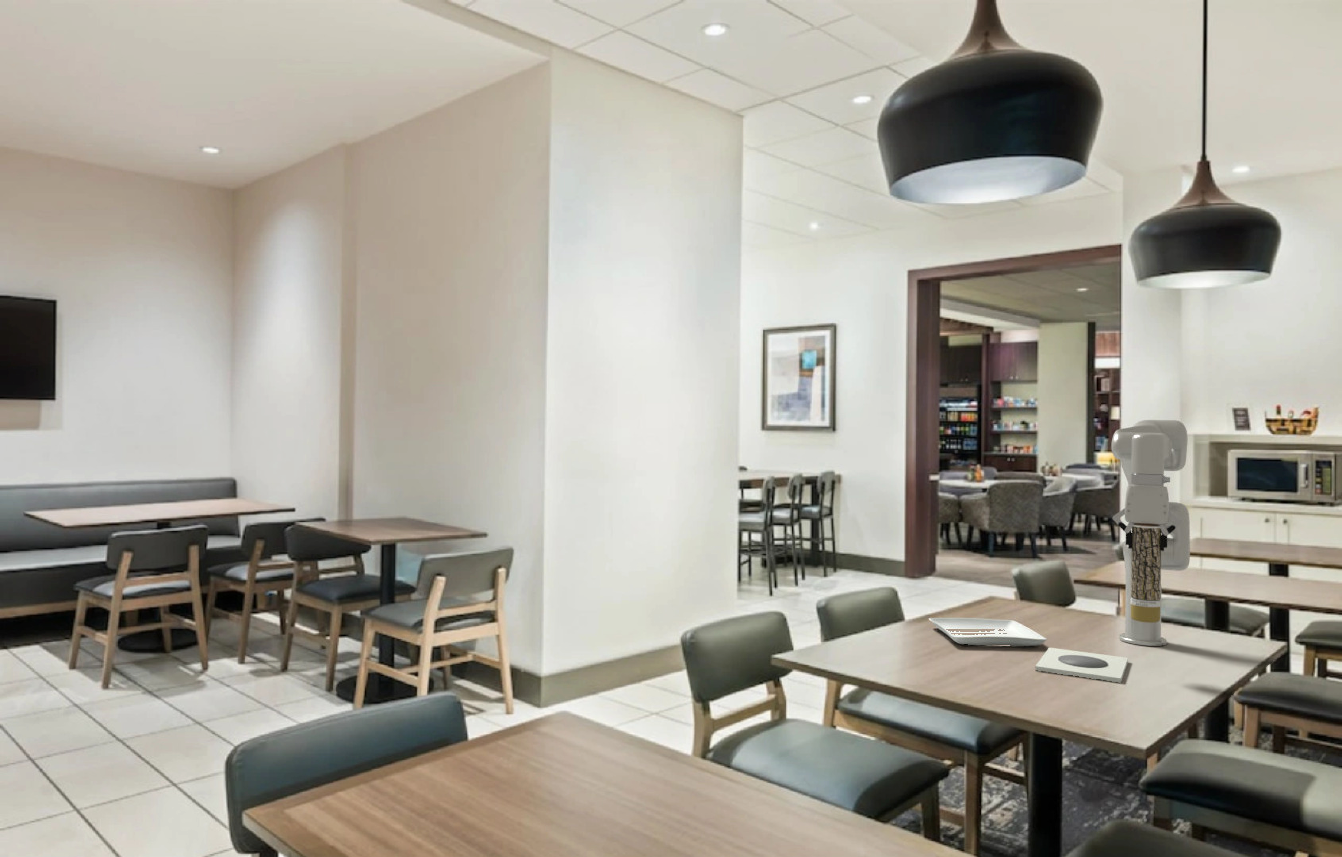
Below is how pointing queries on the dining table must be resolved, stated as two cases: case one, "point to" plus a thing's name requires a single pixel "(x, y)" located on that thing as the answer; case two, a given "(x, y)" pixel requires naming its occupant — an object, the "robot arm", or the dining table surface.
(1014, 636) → the square plate
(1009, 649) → the dining table surface
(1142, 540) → the paper tube
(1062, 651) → the seat board
